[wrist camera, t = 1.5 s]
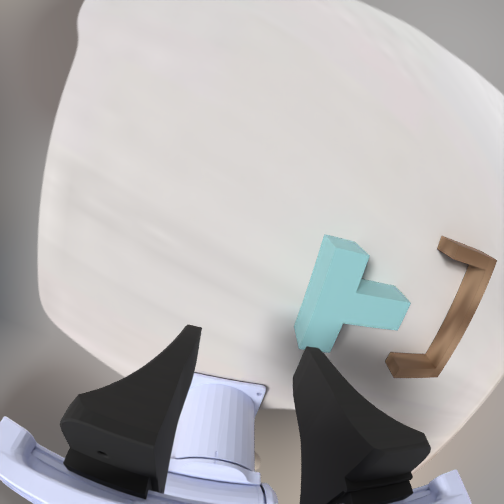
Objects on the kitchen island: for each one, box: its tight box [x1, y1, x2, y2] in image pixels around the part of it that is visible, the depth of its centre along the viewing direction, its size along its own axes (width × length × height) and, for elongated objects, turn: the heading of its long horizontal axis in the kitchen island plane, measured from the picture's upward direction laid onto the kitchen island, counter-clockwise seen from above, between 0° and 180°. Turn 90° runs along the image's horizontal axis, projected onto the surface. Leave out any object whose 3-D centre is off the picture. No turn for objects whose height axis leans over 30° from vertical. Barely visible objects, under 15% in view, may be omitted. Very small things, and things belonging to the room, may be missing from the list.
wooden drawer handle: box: [385, 236, 497, 378], centre depth 21 cm, size 13×6×2 cm, turn 167°
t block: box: [294, 234, 411, 353], centre depth 20 cm, size 8×8×3 cm
